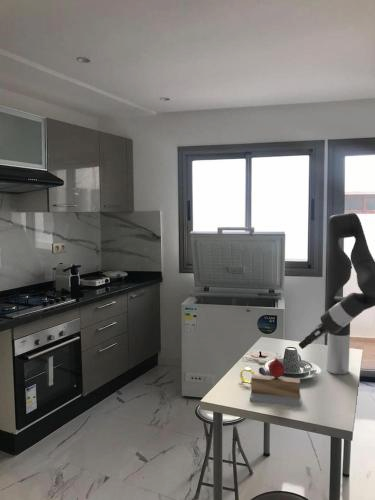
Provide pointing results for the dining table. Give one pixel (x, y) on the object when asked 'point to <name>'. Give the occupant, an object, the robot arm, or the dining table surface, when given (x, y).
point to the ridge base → (274, 399)
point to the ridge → (275, 386)
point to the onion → (276, 368)
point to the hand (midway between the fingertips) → (304, 343)
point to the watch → (246, 370)
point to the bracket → (263, 371)
